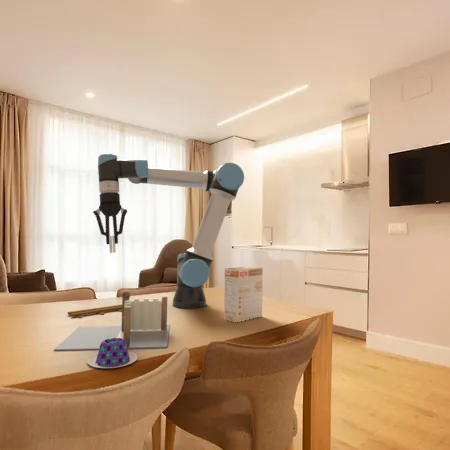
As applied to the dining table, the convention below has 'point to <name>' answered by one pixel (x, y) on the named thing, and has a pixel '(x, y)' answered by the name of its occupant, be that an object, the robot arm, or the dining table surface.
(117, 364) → the pudding
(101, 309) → the decorative fence
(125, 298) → the hinge post
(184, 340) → the dining table surface
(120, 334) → the card
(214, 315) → the dining table surface
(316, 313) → the dining table surface
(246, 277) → the coffeecake box
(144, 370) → the dining table surface
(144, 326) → the fixed panel
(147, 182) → the robot arm
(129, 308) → the panel
